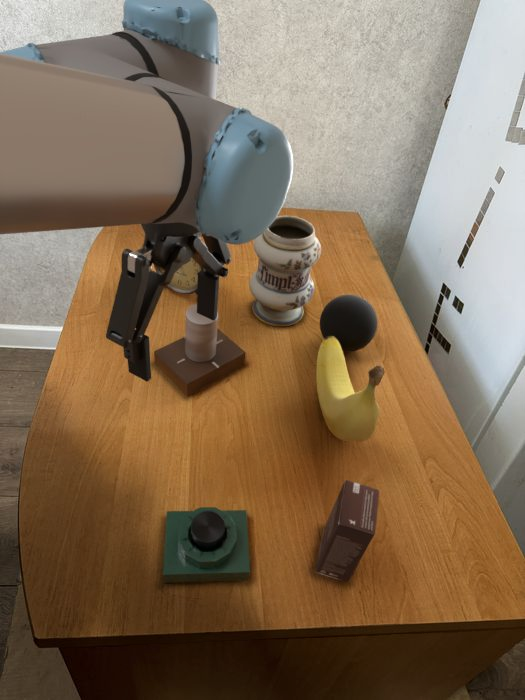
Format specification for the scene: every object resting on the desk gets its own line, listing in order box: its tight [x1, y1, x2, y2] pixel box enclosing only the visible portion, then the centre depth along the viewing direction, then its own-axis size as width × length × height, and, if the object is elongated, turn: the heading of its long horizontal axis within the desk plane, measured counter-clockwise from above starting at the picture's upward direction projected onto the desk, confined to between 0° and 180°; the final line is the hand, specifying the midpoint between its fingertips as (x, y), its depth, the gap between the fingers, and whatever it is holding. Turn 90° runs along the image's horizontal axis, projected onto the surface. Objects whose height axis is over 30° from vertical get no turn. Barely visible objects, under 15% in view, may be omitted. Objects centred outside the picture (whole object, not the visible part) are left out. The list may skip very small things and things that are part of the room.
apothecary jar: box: [248, 215, 322, 327], centre depth 95 cm, size 12×12×18 cm
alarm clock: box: [153, 257, 205, 296], centre depth 97 cm, size 11×5×16 cm, turn 65°
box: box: [315, 479, 380, 583], centre depth 62 cm, size 6×4×12 cm
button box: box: [162, 506, 251, 584], centre depth 64 cm, size 10×8×4 cm
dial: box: [184, 303, 219, 362], centre depth 84 cm, size 5×5×8 cm
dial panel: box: [153, 328, 247, 397], centre depth 87 cm, size 12×9×3 cm
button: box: [191, 511, 225, 551], centre depth 62 cm, size 4×4×2 cm
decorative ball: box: [319, 294, 379, 353], centre depth 93 cm, size 10×10×10 cm
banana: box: [315, 336, 386, 443], centre depth 77 cm, size 23×6×20 cm, turn 4°
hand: (175, 343), depth 66 cm, fingers open, 13 cm apart
